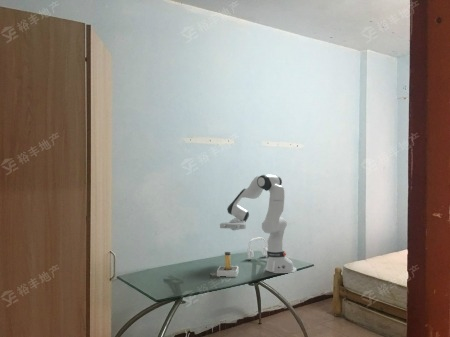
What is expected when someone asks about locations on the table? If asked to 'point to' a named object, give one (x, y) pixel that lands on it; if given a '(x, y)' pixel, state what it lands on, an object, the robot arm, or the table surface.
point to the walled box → (228, 271)
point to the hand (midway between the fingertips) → (230, 227)
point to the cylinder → (227, 261)
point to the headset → (264, 249)
